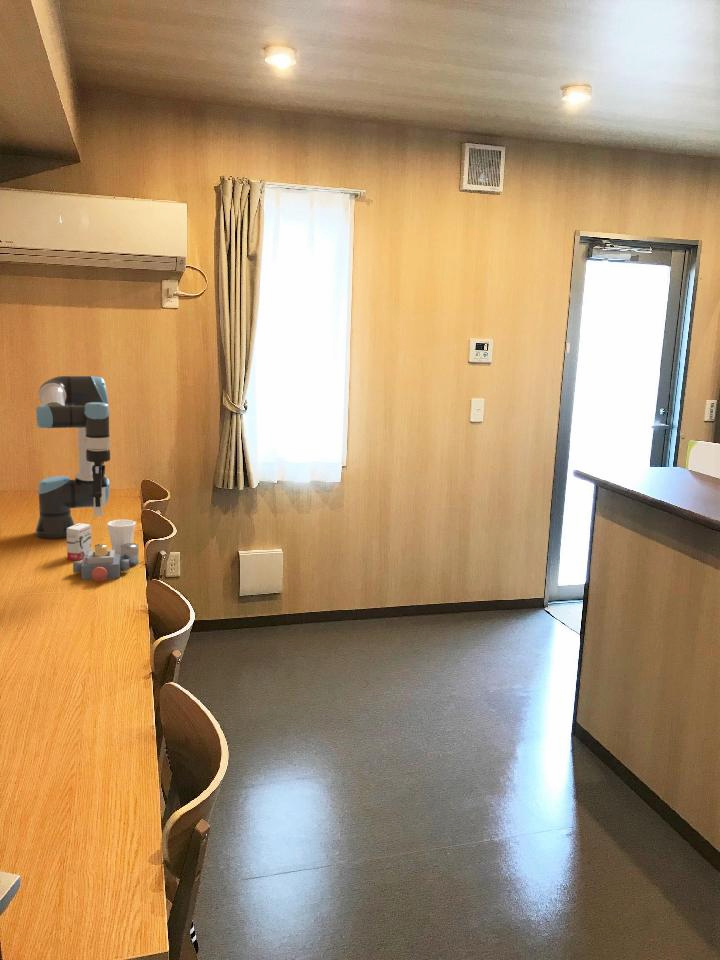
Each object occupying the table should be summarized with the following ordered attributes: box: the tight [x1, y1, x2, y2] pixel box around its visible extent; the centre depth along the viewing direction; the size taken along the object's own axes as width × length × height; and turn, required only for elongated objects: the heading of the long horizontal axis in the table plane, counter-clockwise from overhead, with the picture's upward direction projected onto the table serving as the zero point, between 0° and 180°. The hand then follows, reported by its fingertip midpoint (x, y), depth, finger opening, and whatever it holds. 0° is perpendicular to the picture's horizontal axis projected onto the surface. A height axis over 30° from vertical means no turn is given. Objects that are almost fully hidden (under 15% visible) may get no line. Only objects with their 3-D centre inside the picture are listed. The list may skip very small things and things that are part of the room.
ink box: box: [66, 522, 93, 561], centre depth 260 cm, size 9×5×12 cm, turn 168°
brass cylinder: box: [94, 543, 108, 557], centre depth 244 cm, size 4×4×9 cm
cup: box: [106, 519, 136, 554], centre depth 262 cm, size 10×10×13 cm
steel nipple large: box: [121, 542, 140, 568], centre depth 255 cm, size 6×6×7 cm
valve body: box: [72, 549, 130, 582], centre depth 242 cm, size 16×18×7 cm
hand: (99, 510), depth 240 cm, fingers open, 13 cm apart
